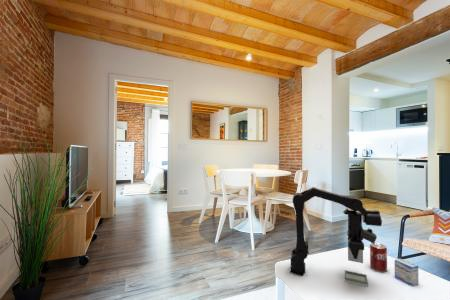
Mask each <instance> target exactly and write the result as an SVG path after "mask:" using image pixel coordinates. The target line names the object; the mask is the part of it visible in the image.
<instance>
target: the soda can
mask: <svg viewBox="0 0 450 300" xmlns="http://www.w3.org/2000/svg"><path fill="white" fill-rule="evenodd" d="M369 266H370V268H371V269H372V270H374V271H375V272H378V273H379V272H380V273H385V272H387V271H388V249H387V246H386V245H384V244H382V243H376V242H375V243H370V245H369Z"/></svg>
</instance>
